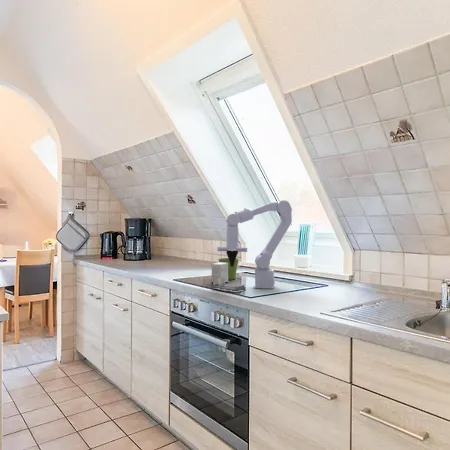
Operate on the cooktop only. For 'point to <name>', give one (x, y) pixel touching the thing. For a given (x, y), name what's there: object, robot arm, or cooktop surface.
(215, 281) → the small box
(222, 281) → the fader knob
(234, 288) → the console strip
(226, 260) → the plant pot
